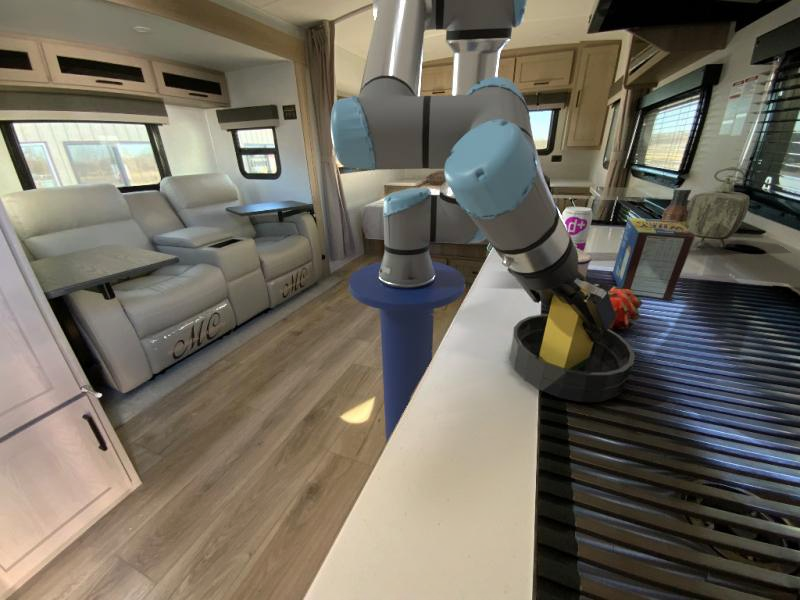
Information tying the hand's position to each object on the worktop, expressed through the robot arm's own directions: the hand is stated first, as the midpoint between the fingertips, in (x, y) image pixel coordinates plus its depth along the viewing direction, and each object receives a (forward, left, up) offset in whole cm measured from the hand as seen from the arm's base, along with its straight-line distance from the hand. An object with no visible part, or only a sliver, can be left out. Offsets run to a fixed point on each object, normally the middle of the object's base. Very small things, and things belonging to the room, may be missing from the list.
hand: (582, 328), depth 54 cm
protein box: (-44, +6, -7) cm, 45 cm away
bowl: (+3, -1, -7) cm, 7 cm away
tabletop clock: (-95, +20, -7) cm, 97 cm away
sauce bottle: (-80, +10, -7) cm, 81 cm away
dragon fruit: (-17, +3, -7) cm, 18 cm away
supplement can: (-58, -14, -7) cm, 60 cm away
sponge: (+3, -1, -6) cm, 7 cm away
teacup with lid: (-29, -9, -7) cm, 31 cm away
